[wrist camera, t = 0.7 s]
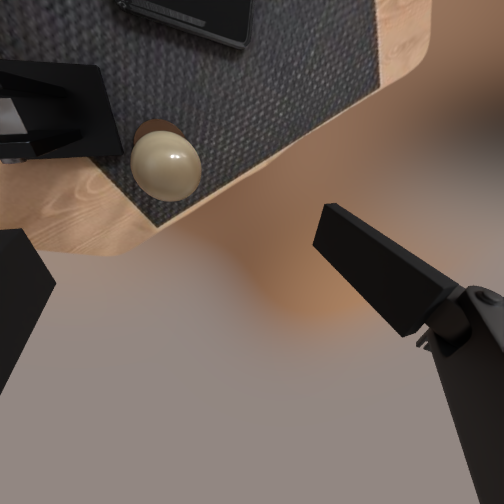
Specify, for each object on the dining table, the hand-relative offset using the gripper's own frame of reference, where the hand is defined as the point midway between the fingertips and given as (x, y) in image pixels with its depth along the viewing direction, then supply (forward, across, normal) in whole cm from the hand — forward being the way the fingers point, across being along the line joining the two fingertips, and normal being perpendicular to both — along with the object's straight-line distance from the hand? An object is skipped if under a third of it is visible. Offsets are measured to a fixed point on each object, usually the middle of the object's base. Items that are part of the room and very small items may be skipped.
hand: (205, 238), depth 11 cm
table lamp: (+27, -2, -1) cm, 27 cm away
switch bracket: (+27, -13, +2) cm, 30 cm away
